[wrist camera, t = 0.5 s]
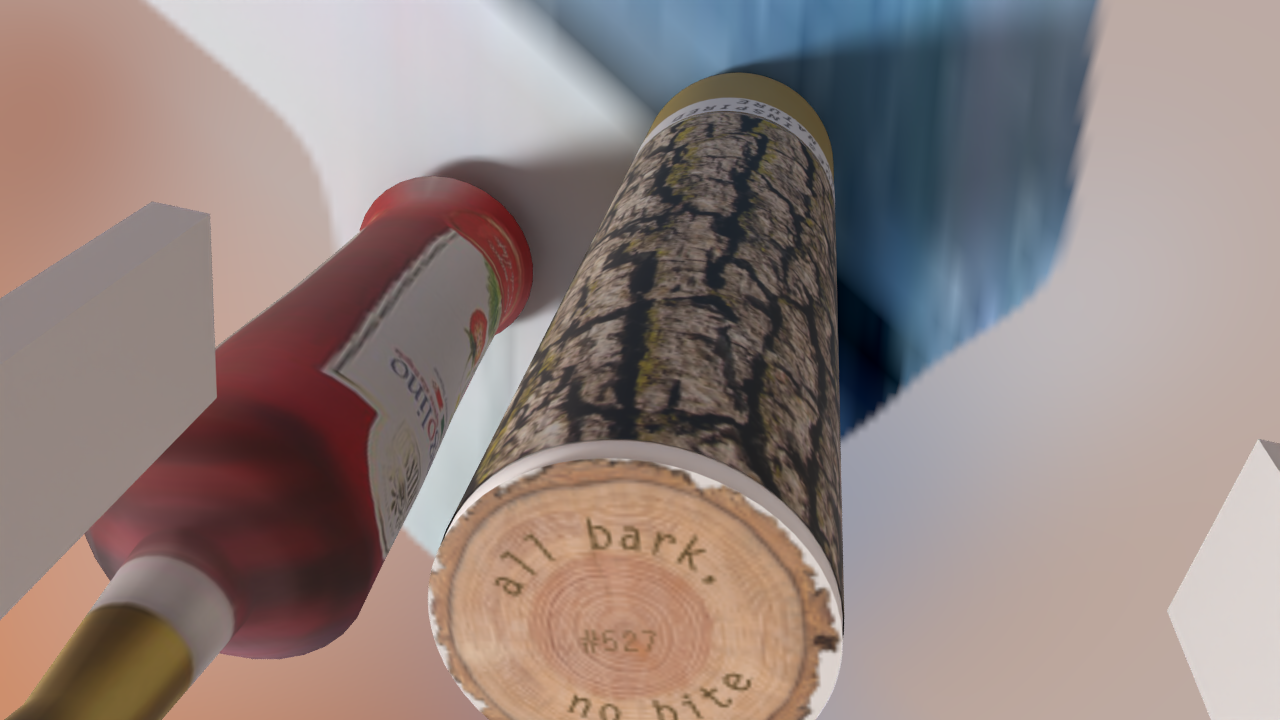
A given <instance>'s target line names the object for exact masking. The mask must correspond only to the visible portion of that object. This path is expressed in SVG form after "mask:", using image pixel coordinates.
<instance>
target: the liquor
mask: <svg viewBox="0 0 1280 720" xmlns="http://www.w3.org/2000/svg"><path fill="white" fill-rule="evenodd" d="M532 282H533V264H532V259H531V254H530V248H529V246H528V243H527V241H526V239H525V236H524V234H523V231H522V230H521V228H520V227H519V225H518V224H517V222H516V221H515V219H514V217H513V216H512V215H511V214H510V213H509V212H508V211H507V210H506V209H505V208H504V206H503V205H502V204H501V203H500V202H498V201H497V200H496V199H494V198H493V197H492V196H490V195H489V194H488V193H486V192H485V191H483V190H481V189H479V188H477V187H475V186H473V185H471V184H469V183H466V182H463V181H460V180H456V179H453V178H447V177H438V176H428V177H417V178H413V179H410V180H407V181H403V182H400V183H398V184H397V185H395V186H393V187H391V188H390V189H388V190H386V191H385V192H384V193H383V194H382V195H381V196H379V197H378V198H377V199H376V200H375V201H374V202H373V204H372V205H371V207H370V208H369V210H368V211H367V213H366V214H365V217H364V220H363V222H362V225H361V228H360V232H359V233H358V234H357V235H355V236H354V237H353V238H352V239H351V240H350V241H349V242H348V243H346V244H345V245H344V246H343V247H342V248H341V249H339V250H338V251H337V252H336V253H335V254H334V255H332V256H331V257H330V258H329V259H328V260H327V261H325V262H324V263H323V264H321V265H320V266H319V267H318V268H317V269H315V270H314V271H313V272H312V273H311V274H309V275H308V276H307V277H306V278H305V279H303V280H302V281H301V282H300V283H299V284H298V285H296V286H295V287H294V288H293V289H291V290H290V291H289V292H288V293H286V294H285V295H284V296H282V297H281V298H280V299H278V300H277V301H276V302H274V303H273V304H272V305H271V306H269V307H268V308H266V309H265V310H264V311H262V312H261V313H260V314H259V315H257V316H256V317H255V318H253V319H252V320H251V321H249V322H248V323H247V324H245V325H244V326H243V327H241V328H240V329H239V330H237V331H236V332H235V333H233V334H232V335H231V336H230V337H228V338H227V339H226V340H224V341H223V342H222V343H221V344H219V345H218V346H217V347H216V348H215V362H216V389H217V398H216V399H215V400H214V401H213V402H212V403H211V404H210V405H209V406H208V407H207V408H206V409H205V410H204V411H203V412H202V413H201V414H200V416H199V417H198V418H197V419H196V420H195V421H194V422H193V423H192V424H191V425H190V426H189V427H188V428H187V429H186V430H185V431H184V432H183V433H182V434H181V435H180V436H179V437H178V438H177V439H176V440H175V441H174V442H173V443H172V444H171V445H170V446H169V447H168V448H167V449H166V450H165V451H164V452H163V453H162V454H161V456H160V457H159V458H158V459H157V460H156V461H155V462H154V463H153V464H152V465H151V466H150V467H149V468H148V469H147V470H146V471H145V472H144V473H143V474H142V475H141V476H140V477H139V478H138V479H137V480H136V481H135V482H134V483H133V484H132V485H131V486H130V487H129V488H128V489H127V490H126V491H125V492H124V493H123V495H122V496H121V497H120V498H119V499H118V500H117V501H116V502H115V503H114V504H113V505H112V506H111V507H110V508H109V509H108V510H107V511H106V512H105V513H104V514H103V515H102V516H101V517H100V518H99V519H98V520H97V521H96V522H95V523H94V524H93V525H92V526H91V527H90V528H89V529H88V530H87V531H86V532H85V536H86V539H87V541H88V543H89V545H90V548H91V550H92V552H93V554H94V557H95V559H96V560H97V562H98V563H99V565H100V566H101V568H102V569H103V571H104V572H105V574H106V575H107V577H108V578H109V580H110V583H109V584H108V586H107V587H106V589H105V590H104V592H103V593H102V594H101V596H100V597H99V599H98V600H97V601H96V603H95V604H94V606H93V607H92V609H91V610H90V611H89V613H88V614H87V615H86V617H85V618H84V620H83V621H82V623H81V624H80V625H79V627H78V628H77V630H76V631H75V632H74V634H73V635H72V637H71V638H70V639H69V641H68V642H67V644H66V645H65V647H64V648H63V649H62V651H61V652H60V654H59V655H58V656H57V658H56V659H55V661H54V662H53V664H52V665H51V667H50V668H49V669H48V671H47V672H46V674H45V675H44V676H43V678H42V679H41V681H40V682H39V684H38V685H37V686H36V688H35V689H34V690H33V692H32V693H31V695H30V696H29V698H28V699H27V700H26V702H25V703H24V705H22V706H21V707H20V708H19V709H17V710H16V711H15V712H14V713H12V714H11V715H10V716H9V717H7V718H6V719H5V720H162V719H163V718H164V717H165V715H166V714H167V713H168V712H169V711H170V710H171V708H172V707H173V706H174V705H175V704H176V703H177V701H178V700H179V699H180V698H181V697H182V696H183V694H184V693H185V692H186V691H187V690H188V688H189V687H190V686H191V685H192V684H193V683H194V682H195V680H196V679H197V678H198V677H199V676H200V675H201V674H202V672H203V671H204V670H205V669H206V668H207V666H208V665H209V664H210V663H211V662H212V661H213V660H214V658H215V657H216V656H217V655H218V654H219V653H221V654H226V655H232V656H239V657H244V658H251V659H283V658H288V657H294V656H300V655H305V654H307V653H310V652H312V651H315V650H317V649H319V648H322V647H325V646H326V645H328V644H329V643H331V642H332V641H334V640H335V639H337V638H338V637H339V636H341V635H342V634H344V632H345V631H346V630H347V629H348V628H349V627H350V625H351V624H352V623H353V622H354V620H356V618H357V617H358V615H359V612H360V610H361V608H362V606H363V604H364V602H365V600H366V598H367V596H368V594H369V592H370V590H371V588H372V585H373V583H374V581H375V579H376V577H377V575H378V573H379V571H380V569H381V567H382V565H383V562H384V561H385V559H386V557H387V555H388V553H389V551H390V549H391V547H392V545H393V543H394V541H395V539H396V537H397V535H398V533H399V531H400V529H401V527H402V525H403V523H404V521H405V519H406V517H407V515H408V513H409V511H410V509H411V507H412V505H413V503H414V501H415V499H416V497H417V495H418V493H419V491H420V489H421V487H422V485H423V482H424V480H425V478H426V476H427V474H428V471H429V469H430V467H431V465H432V462H433V460H434V458H435V456H436V453H437V451H438V449H439V447H440V444H441V442H442V440H443V438H444V435H445V433H446V431H447V429H448V427H449V424H450V422H451V420H452V418H453V415H454V413H455V411H456V409H457V407H458V405H459V403H460V401H461V399H462V397H463V395H464V393H465V391H466V389H467V387H468V385H469V383H470V381H471V379H472V377H473V375H474V373H475V371H476V369H477V367H478V365H479V363H480V362H481V360H482V358H483V356H484V354H485V352H486V350H487V349H488V347H489V345H490V343H491V341H492V339H493V337H494V336H495V335H496V334H498V333H500V332H502V331H503V330H504V329H505V328H507V327H508V326H509V325H510V324H512V323H513V322H514V320H515V319H516V318H517V317H518V315H519V314H520V313H521V312H522V310H523V308H524V306H525V304H526V302H527V300H528V298H529V295H530V290H531V286H532Z"/></svg>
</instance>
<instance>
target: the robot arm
mask: <svg viewBox="0 0 1280 720" xmlns="http://www.w3.org/2000/svg"><path fill="white" fill-rule="evenodd" d="M211 254H212V253H211V226H210V214H208V213H203V212H199V211H193V210H189V209H184V208H180V207H175V206H171V205H166V204H161V203H156V202H151V203H149V204H148V205H146V206H144V207H143V208H141V209H140V210H138V211H137V212H135V213H133V214H132V215H130V216H129V217H127V218H126V219H124V220H123V221H121V222H119V223H118V224H116V225H115V226H113V227H112V228H110V229H108V230H107V231H105V232H104V233H102V234H101V235H99V236H97V237H96V238H94V239H93V240H91V241H90V242H88V243H87V244H85V245H83V246H82V247H80V248H79V249H77V250H75V251H74V252H72V253H71V254H69V255H68V256H66V257H65V258H63V259H61V260H60V261H58V262H57V263H55V264H54V265H52V266H50V267H49V268H47V269H46V270H44V271H43V272H41V273H39V274H38V275H37V276H35V277H33V278H32V279H30V280H28V281H27V282H25V283H24V284H23V285H21V286H19V287H18V288H16V289H15V290H13V291H11V292H10V293H8V294H7V295H5V296H4V297H2V298H1V299H0V620H1V619H2V617H4V616H5V615H6V614H7V613H8V611H9V610H10V609H11V608H12V607H13V606H14V605H15V604H16V603H17V602H18V601H19V600H20V599H21V598H22V597H23V596H24V595H25V594H26V593H27V592H28V591H29V590H30V589H31V588H32V587H33V586H34V584H36V583H37V582H38V581H39V580H40V579H41V577H43V576H44V575H45V574H46V572H47V571H48V570H49V569H50V568H51V567H52V566H53V565H54V564H55V563H56V562H57V561H58V560H59V559H60V558H61V557H62V556H63V555H64V554H65V553H66V552H67V551H68V550H69V549H70V548H71V547H72V546H73V545H74V544H75V543H76V542H77V541H78V540H79V539H80V538H81V537H82V536H83V534H85V532H86V531H87V530H88V529H89V528H90V527H91V526H92V525H93V524H94V523H95V522H96V521H97V520H98V519H99V518H100V517H101V516H102V515H103V514H104V513H105V512H106V511H107V510H108V509H109V508H110V507H111V506H112V505H113V504H114V503H115V502H116V501H117V500H118V499H119V498H120V497H121V496H122V495H123V493H124V492H125V491H126V490H127V489H128V488H129V487H130V486H131V485H132V484H133V483H134V482H135V481H136V480H137V479H138V478H139V477H140V476H141V475H142V474H143V473H144V472H145V471H146V470H147V469H148V468H149V467H150V466H151V465H152V464H153V463H154V462H155V461H156V460H157V459H158V458H159V457H160V456H161V454H162V453H163V452H164V451H165V450H166V449H167V448H168V447H169V446H170V445H171V444H172V443H173V442H174V441H175V440H176V439H177V438H178V437H179V436H180V435H181V434H182V433H183V432H184V431H185V430H186V429H187V428H188V427H189V426H190V425H191V424H192V423H193V422H194V421H195V420H196V419H197V418H198V417H199V416H200V414H201V413H202V412H203V411H204V410H205V409H206V408H207V407H208V406H209V405H210V404H211V403H212V402H213V401H214V400H215V399H216V398H217V389H216V362H215V337H214V336H215V335H214V309H213V280H212V255H211ZM1167 612H1168V614H1169V617H1170V619H1171V621H1172V624H1173V626H1174V629H1175V632H1176V634H1177V637H1178V639H1179V642H1180V644H1181V646H1182V649H1183V651H1184V654H1185V656H1186V659H1187V661H1188V664H1189V666H1190V669H1191V671H1192V674H1193V676H1194V679H1195V681H1196V684H1197V686H1198V689H1199V691H1200V694H1201V696H1202V699H1203V701H1204V703H1205V706H1206V709H1207V711H1208V714H1209V716H1210V719H1211V720H1280V444H1279V443H1274V442H1270V441H1265V440H1261V439H1258V441H1257V443H1256V445H1255V446H1254V448H1253V450H1252V452H1251V454H1250V456H1249V458H1248V459H1247V461H1246V463H1245V465H1244V467H1243V469H1242V471H1241V473H1240V475H1239V476H1238V478H1237V480H1236V482H1235V484H1234V486H1233V488H1232V490H1231V491H1230V493H1229V495H1228V497H1227V499H1226V501H1225V503H1224V505H1223V507H1222V508H1221V510H1220V512H1219V514H1218V516H1217V518H1216V520H1215V522H1214V524H1213V525H1212V527H1211V529H1210V531H1209V533H1208V535H1207V537H1206V538H1205V540H1204V542H1203V544H1202V546H1201V548H1200V550H1199V552H1198V554H1197V556H1196V558H1195V559H1194V561H1193V563H1192V565H1191V567H1190V569H1189V570H1188V572H1187V574H1186V576H1185V578H1184V580H1183V582H1182V584H1181V586H1180V588H1179V589H1178V591H1177V593H1176V595H1175V597H1174V599H1173V601H1172V602H1171V604H1170V606H1169V608H1168V610H1167Z"/></svg>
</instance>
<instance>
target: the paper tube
mask: <svg viewBox="0 0 1280 720" xmlns="http://www.w3.org/2000/svg"><path fill="white" fill-rule="evenodd" d="M634 159H635V160H633V162H632V164H631V166H630V168H629V170H628V172H627V174H626V176H625V178H624V180H623V182H622V184H621V186H620V188H619V190H618V192H617V194H616V196H615V198H614V200H613V202H612V204H611V205H610V207H609V209H608V211H607V213H606V215H605V217H604V219H603V221H602V223H601V225H600V227H599V229H598V231H597V233H596V235H595V237H594V239H593V241H592V243H591V245H590V247H589V249H588V251H587V253H586V255H585V257H584V259H583V261H582V263H581V265H580V267H579V269H578V271H577V273H576V275H575V277H574V279H573V281H572V283H571V284H570V286H569V288H568V290H567V292H566V294H565V296H564V298H563V300H562V302H561V304H560V306H559V308H558V310H557V312H556V314H555V316H554V318H553V320H552V322H551V324H550V326H549V328H548V330H547V332H546V334H545V336H544V338H543V340H542V342H541V344H540V346H539V348H538V350H537V352H536V354H535V356H534V358H533V360H532V362H531V363H530V365H529V367H528V369H527V371H526V373H525V375H524V377H523V379H522V381H521V383H520V385H519V387H518V389H517V391H516V393H515V395H514V397H513V399H512V401H511V403H510V405H509V407H508V409H507V411H506V413H505V415H504V417H503V419H502V421H501V423H500V425H499V427H498V429H497V431H496V433H495V435H494V437H493V439H492V441H491V442H490V444H489V446H488V448H487V450H486V452H485V454H484V456H483V458H482V460H481V462H480V464H479V466H478V468H477V470H476V472H475V474H474V476H473V478H472V480H471V482H470V484H469V486H468V488H467V490H466V492H465V494H464V496H463V498H462V500H461V502H460V504H459V506H458V508H457V510H456V512H455V514H454V516H453V518H452V520H451V521H450V523H449V525H448V527H447V529H446V532H445V534H444V537H443V540H442V543H441V546H440V547H439V549H438V552H437V555H436V557H435V560H434V563H433V566H432V570H431V575H430V580H429V591H428V608H429V618H430V623H431V628H432V633H433V636H434V639H435V642H436V646H437V648H438V651H439V653H440V655H441V657H442V660H443V662H444V664H445V665H446V667H447V669H448V671H449V672H450V674H451V676H452V678H453V679H454V681H455V682H456V683H457V685H458V686H459V687H460V689H461V690H462V692H463V693H464V694H465V695H466V696H467V698H468V699H469V700H470V701H471V702H472V703H473V705H474V706H475V707H476V708H477V709H478V710H479V711H480V712H481V713H483V714H484V715H485V716H486V717H487V718H488V719H489V720H816V718H817V717H818V716H819V714H820V713H821V711H822V710H823V708H824V707H825V705H826V704H827V702H828V699H829V698H830V696H831V693H832V691H833V689H834V687H835V684H836V680H837V678H838V674H839V670H840V664H841V659H842V645H843V635H844V590H843V589H844V588H843V587H844V586H843V541H842V499H841V497H842V496H841V452H840V406H839V361H838V317H837V272H836V227H835V206H834V204H835V192H834V170H833V153H832V148H831V143H830V140H829V137H828V134H827V132H826V129H825V127H824V125H823V123H822V122H821V120H820V118H819V116H818V115H817V113H816V112H815V111H814V109H813V108H812V107H811V106H810V105H809V104H808V102H807V101H806V100H805V99H804V98H802V97H801V96H800V95H799V94H798V93H797V92H795V91H794V90H792V89H791V88H789V87H788V86H786V85H784V84H782V83H781V82H778V81H776V80H774V79H771V78H768V77H765V76H761V75H756V74H751V73H726V74H719V75H715V76H711V77H708V78H705V79H702V80H700V81H698V82H696V83H694V84H691V85H690V86H688V87H687V88H685V89H683V90H682V91H681V92H679V93H678V94H677V95H675V96H674V97H673V98H672V99H671V100H670V101H669V102H668V103H667V104H666V105H665V106H664V108H663V109H662V110H661V111H660V113H659V114H658V116H657V117H656V119H655V120H654V122H653V124H652V126H651V128H650V130H649V132H648V134H647V136H646V138H645V140H644V142H643V144H642V145H641V147H640V148H639V150H638V152H637V154H636V156H635V158H634Z"/></svg>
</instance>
